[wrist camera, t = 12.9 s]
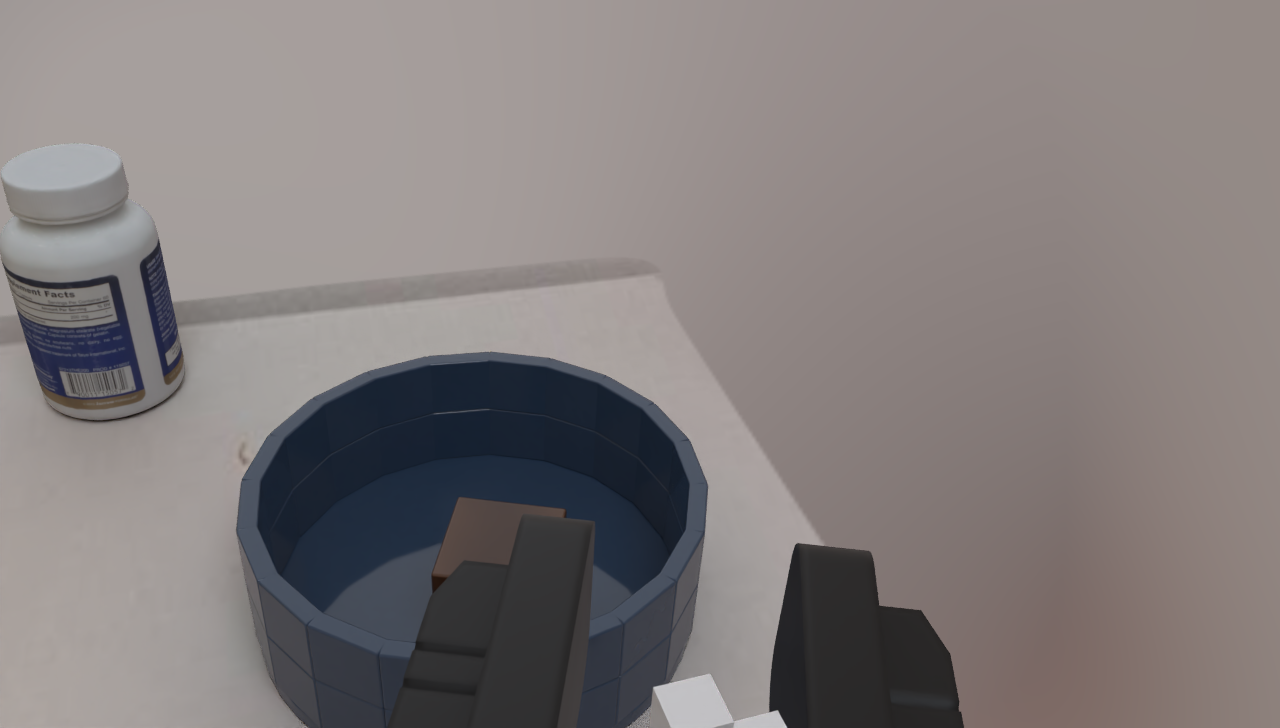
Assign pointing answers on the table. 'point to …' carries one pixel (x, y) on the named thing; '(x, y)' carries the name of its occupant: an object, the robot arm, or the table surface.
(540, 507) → the block
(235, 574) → the table surface
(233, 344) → the table surface
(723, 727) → the chess piece
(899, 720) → the robot arm
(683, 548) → the bowl
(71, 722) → the table surface
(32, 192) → the pill bottle
